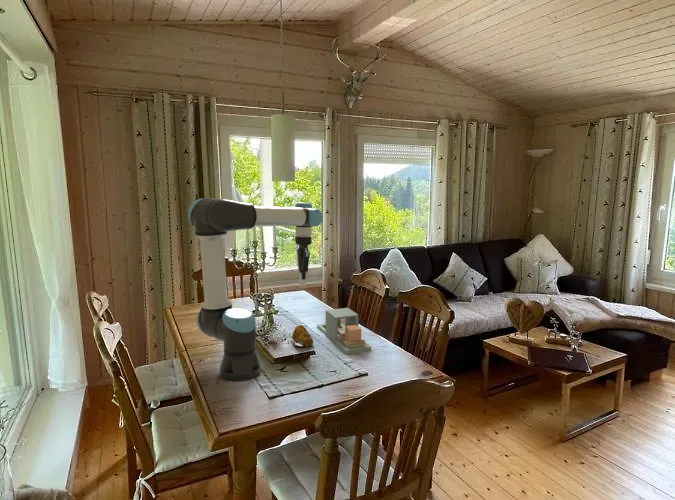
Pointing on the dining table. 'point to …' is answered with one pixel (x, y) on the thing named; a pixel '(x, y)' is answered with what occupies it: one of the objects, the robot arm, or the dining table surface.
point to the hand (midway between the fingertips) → (302, 285)
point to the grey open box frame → (342, 338)
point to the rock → (302, 336)
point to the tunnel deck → (332, 328)
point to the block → (352, 333)
